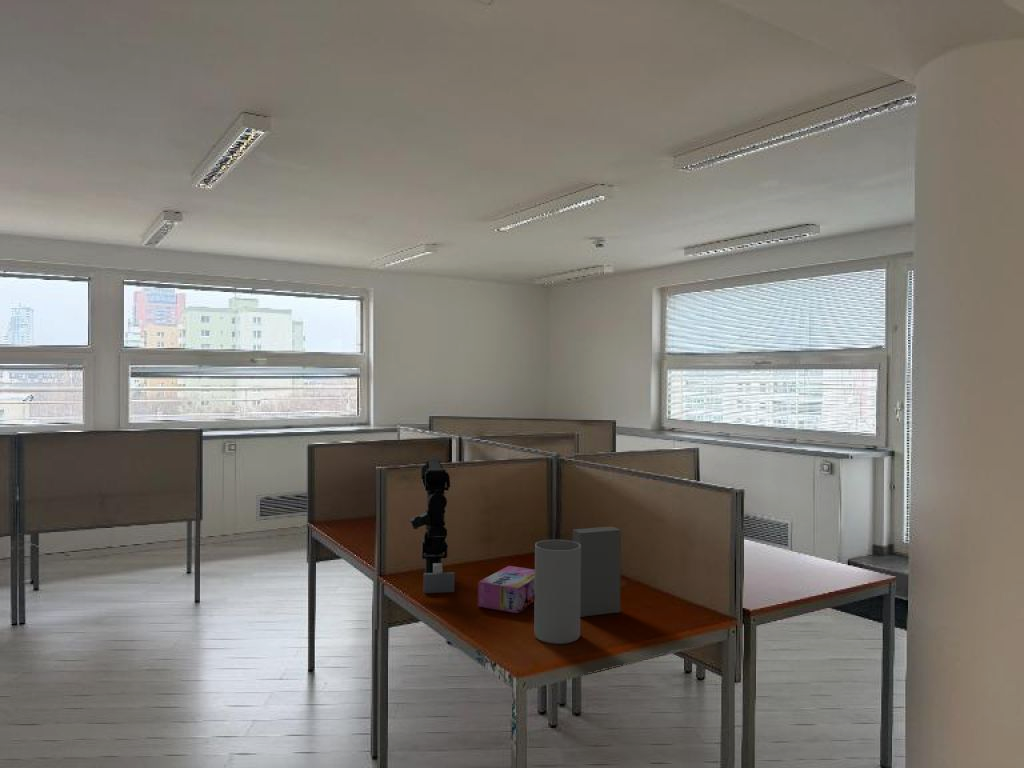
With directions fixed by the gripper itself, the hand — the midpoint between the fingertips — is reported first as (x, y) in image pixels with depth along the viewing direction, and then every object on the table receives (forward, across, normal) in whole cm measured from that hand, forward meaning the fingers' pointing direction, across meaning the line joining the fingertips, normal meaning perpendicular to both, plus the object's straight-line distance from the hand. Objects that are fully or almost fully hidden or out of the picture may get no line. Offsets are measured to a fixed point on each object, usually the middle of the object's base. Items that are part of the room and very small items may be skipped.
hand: (435, 552), depth 241 cm
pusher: (+11, +3, +1) cm, 12 cm away
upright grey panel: (+12, +34, +46) cm, 58 cm away
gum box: (+7, +16, +17) cm, 25 cm away
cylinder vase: (+12, +52, +30) cm, 61 cm away
